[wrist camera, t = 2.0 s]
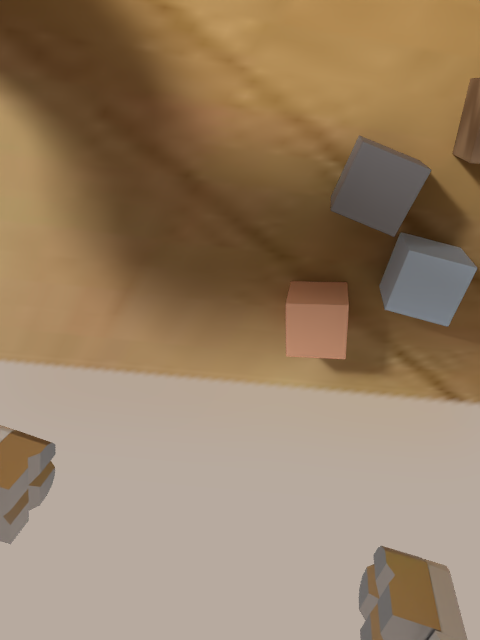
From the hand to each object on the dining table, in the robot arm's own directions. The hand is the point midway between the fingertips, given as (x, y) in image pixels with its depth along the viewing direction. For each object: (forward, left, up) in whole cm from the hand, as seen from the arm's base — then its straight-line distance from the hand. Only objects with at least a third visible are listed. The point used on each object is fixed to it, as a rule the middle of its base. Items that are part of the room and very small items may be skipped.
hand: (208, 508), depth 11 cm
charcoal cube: (-4, +5, -31) cm, 32 cm away
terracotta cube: (+8, +4, -31) cm, 32 cm away
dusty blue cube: (+2, +11, -31) cm, 33 cm away
